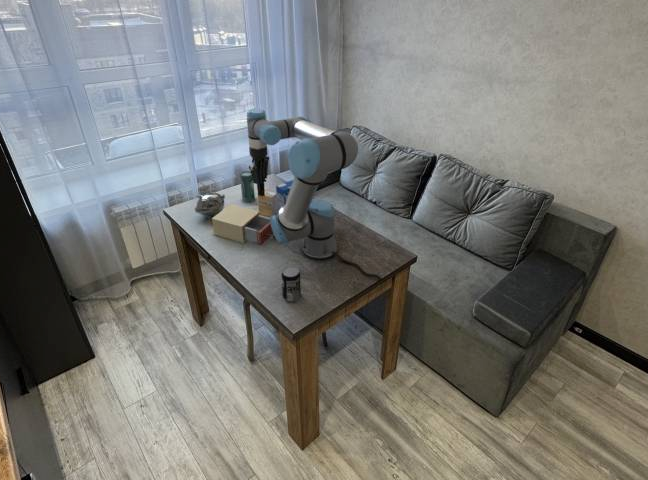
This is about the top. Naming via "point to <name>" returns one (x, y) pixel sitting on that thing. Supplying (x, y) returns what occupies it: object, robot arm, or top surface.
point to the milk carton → (282, 194)
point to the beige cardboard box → (233, 222)
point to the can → (247, 186)
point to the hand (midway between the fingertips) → (261, 195)
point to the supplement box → (268, 204)
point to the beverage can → (291, 283)
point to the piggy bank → (210, 204)
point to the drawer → (258, 230)
